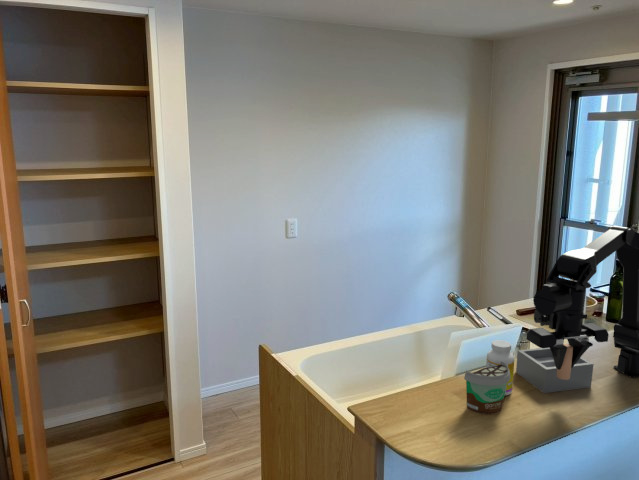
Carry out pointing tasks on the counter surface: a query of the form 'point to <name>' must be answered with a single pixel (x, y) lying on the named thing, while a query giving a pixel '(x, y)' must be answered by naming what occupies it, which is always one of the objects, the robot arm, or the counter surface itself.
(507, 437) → the counter surface
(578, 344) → the robot arm
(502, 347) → the supplement bottle
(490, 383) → the food container
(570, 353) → the peg
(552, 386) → the bore box
